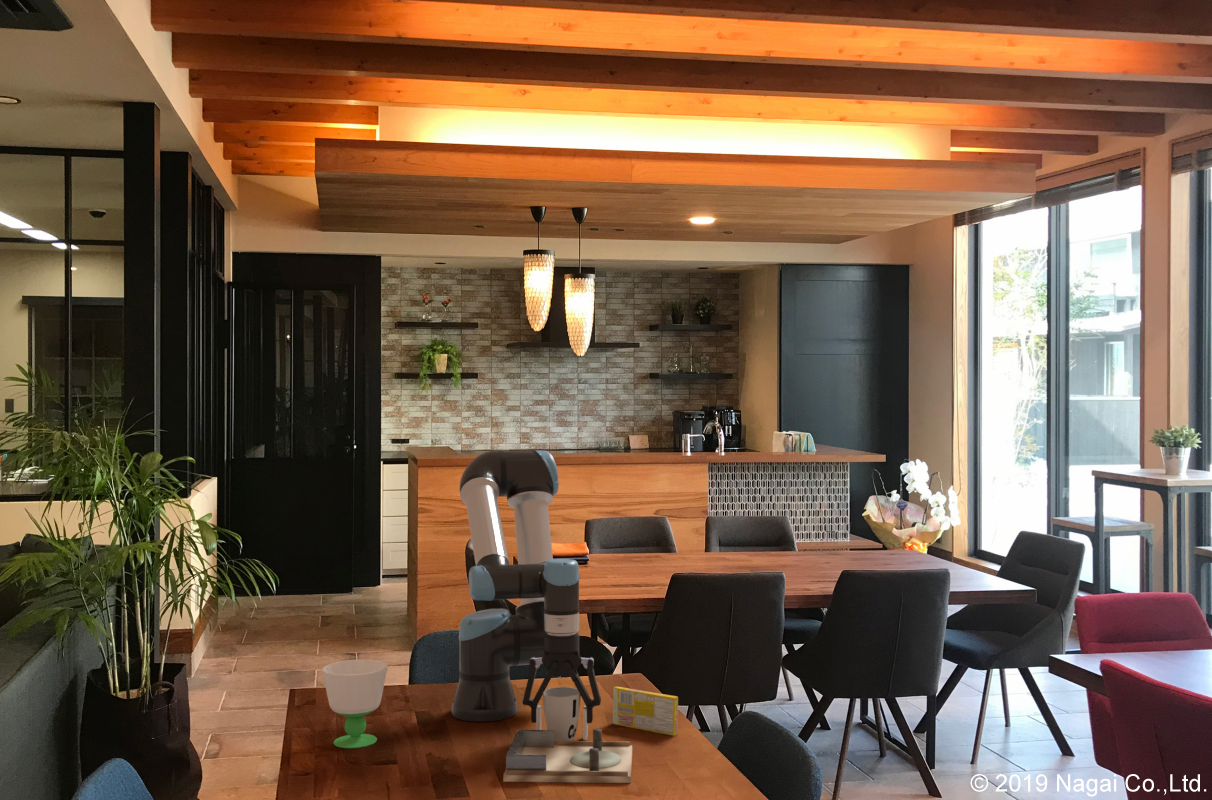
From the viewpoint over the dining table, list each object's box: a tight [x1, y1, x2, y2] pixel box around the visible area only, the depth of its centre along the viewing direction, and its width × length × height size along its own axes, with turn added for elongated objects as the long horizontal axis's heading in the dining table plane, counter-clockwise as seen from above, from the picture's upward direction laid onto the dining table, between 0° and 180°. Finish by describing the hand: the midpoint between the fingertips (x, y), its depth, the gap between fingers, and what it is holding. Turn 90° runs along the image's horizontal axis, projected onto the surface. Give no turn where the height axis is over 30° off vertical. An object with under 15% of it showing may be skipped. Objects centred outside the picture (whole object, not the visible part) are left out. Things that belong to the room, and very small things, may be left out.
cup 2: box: [542, 686, 581, 741], centre depth 215 cm, size 8×8×10 cm
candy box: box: [612, 686, 679, 737], centre depth 222 cm, size 16×2×8 cm, turn 55°
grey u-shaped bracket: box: [505, 729, 554, 770], centre depth 198 cm, size 8×16×3 cm, turn 178°
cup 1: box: [321, 658, 389, 749], centre depth 214 cm, size 14×14×16 cm
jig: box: [502, 728, 633, 784], centre depth 198 cm, size 24×18×5 cm
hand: (562, 737), depth 215 cm, fingers open, 9 cm apart
